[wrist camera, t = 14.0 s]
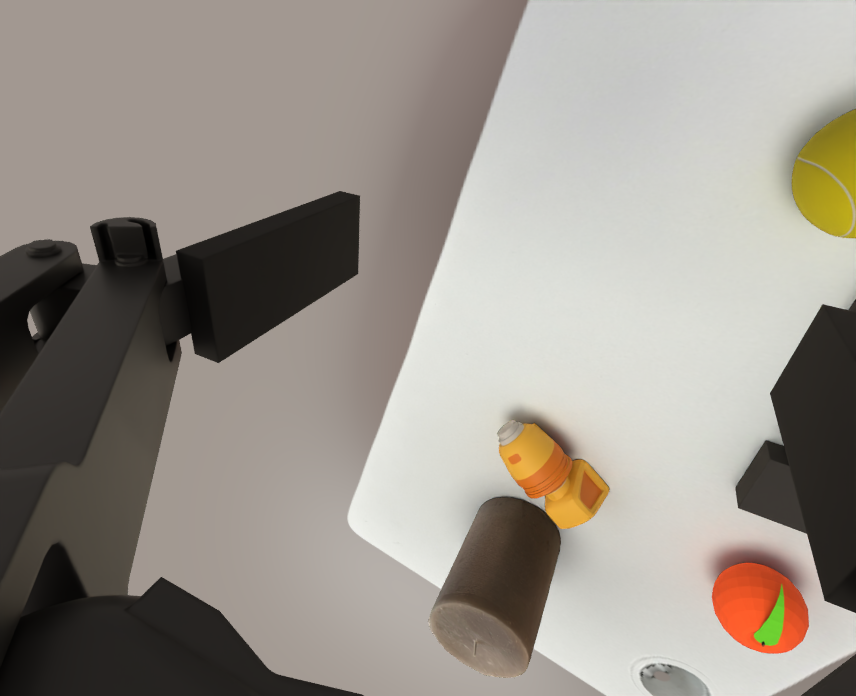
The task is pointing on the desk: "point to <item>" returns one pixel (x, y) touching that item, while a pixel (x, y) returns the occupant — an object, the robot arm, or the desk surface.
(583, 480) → the yellow toy drill
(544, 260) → the desk surface
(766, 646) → the clementine
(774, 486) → the black u-shaped block
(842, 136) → the tennis ball
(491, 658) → the pillar candle
